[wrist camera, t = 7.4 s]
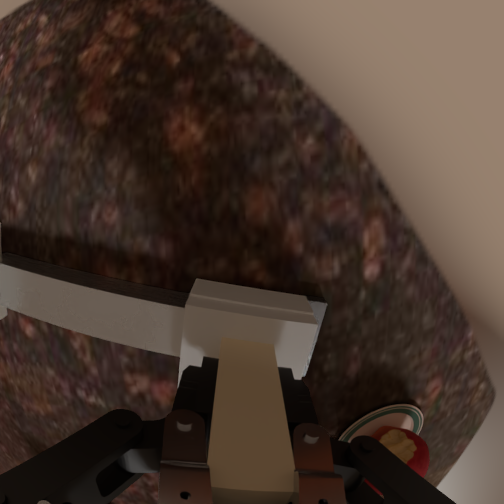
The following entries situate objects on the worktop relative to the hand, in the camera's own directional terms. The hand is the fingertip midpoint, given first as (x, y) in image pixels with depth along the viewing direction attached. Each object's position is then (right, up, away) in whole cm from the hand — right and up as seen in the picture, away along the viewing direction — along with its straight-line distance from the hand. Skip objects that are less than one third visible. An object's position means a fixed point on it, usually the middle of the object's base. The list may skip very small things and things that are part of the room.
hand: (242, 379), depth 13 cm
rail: (-7, +2, +4) cm, 9 cm away
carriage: (0, +1, +5) cm, 5 cm away
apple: (+11, -10, +8) cm, 17 cm away
